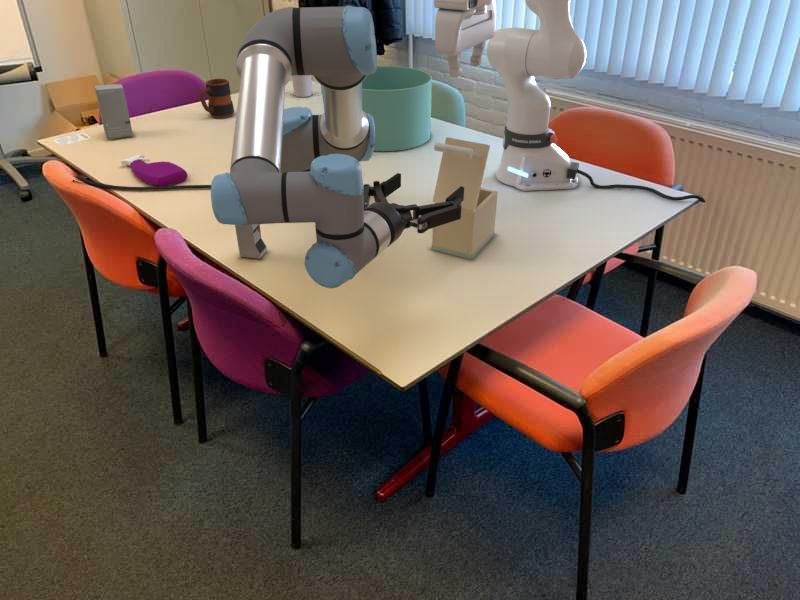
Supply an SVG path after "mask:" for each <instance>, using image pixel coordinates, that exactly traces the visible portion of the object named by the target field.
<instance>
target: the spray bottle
mask: <svg viewBox="0 0 800 600" xmlns="http://www.w3.org/2000/svg"><path fill="white" fill-rule="evenodd" d="M145 161H149V163H147V162H145ZM120 163H121V166H129V167H130V169H131V172H132V173H133V175H134V176H135V177H136V178H137V179H139V180H141V181H142V182H143V183H145V184H148V185H150V186H151V187H158V186H174V185H176V184H178V183H182V182H184V181H186V180H187V178H188V172H187V171H186V170H185V169H184V168H183V167H181V166H180V165H177V164H175V163H174V162H170V161H154V162H150V158H146V157H145V154H144V153H142V154H136V155H133V156H129V157H127V158H124V159H121V160H120Z"/></svg>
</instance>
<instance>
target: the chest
mask: <svg viewBox="0 0 800 600" xmlns="http://www.w3.org/2000/svg"><path fill="white" fill-rule="evenodd" d="M498 193H499V191H498V190H492V189H487V188H482V187H481V188H480V193H479V197H478V202H477V206H476V210H475V211H471V210H466V209H462V208H461V219H459V220H456V221H453V222H450V223H446V224H443V225H440V226H437V227H434V228H432V235H431V237H432V239H431V250H433V251H436V252H440V253H444V254H448V255H452V256H454V257H455V256H456V257H459V258H464V259H467V260H473V258H475V256H476V255H477V254H478V253H479V252H480V251H481V250H482V249H483V248H484V247H485V246H486V245H487V243H488V242H489V241H490V240H492V238H493V237H494V236H495V226H496V217H497V216H496V215H497V203H498ZM433 204H435V202H433Z"/></svg>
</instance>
